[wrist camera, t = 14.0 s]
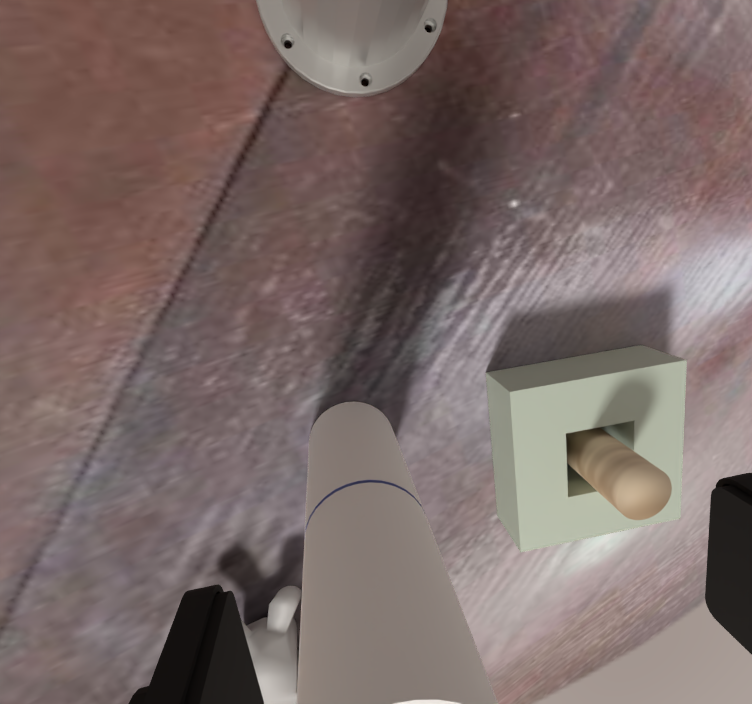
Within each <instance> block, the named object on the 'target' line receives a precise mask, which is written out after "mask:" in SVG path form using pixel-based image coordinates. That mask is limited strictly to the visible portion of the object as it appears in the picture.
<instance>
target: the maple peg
mask: <svg viewBox="0 0 752 704" xmlns="http://www.w3.org/2000/svg"><path fill="white" fill-rule="evenodd" d="M566 452H567V463H568V464H569V465H570V466H571V467H572V468H573V469H574V470H575V471H576V472H577V473H578V474H579V475H580V476H582V477H583V478H584V479H585V480H586V481H587V482H588V483H589V484H590V485H591V486H592V487H593V488H595V489H596V490H597V491H598V492H599V493H600V494H601V495H602V496H603V497H604V498H605V499H606V500H607V501H609V502H610V503H611V504H612V505H613V506H614V507H615V508H616V509H617V510H618V511H619V512H620V513H621V514H623V515H624V516H625V517H627V518H629V519H632V520H644V519H648V518H650V517H652V516H654V515H656V514H657V513H659V512H660V511H661V510H662V509H663V508H664V507H665V506H666V504H667V503H668V501H669V499H670V496H671V491H672V485H671V481H670V478H669V477H668V475H667V474H666V473H665V472H663V471H662V470H660V469H659V468H658V467H656V466H655V465H653V464H652V463H650V462H649V461H647V460H646V459H645V458H643V457H642V456H640V455H639V454H637V453H636V452H634V451H633V450H632V449H630V448H629V447H627V446H626V445H624V444H623V443H621V442H620V441H618V440H617V439H616V438H614V437H613V436H611V435H610V434H608V433H607V432H605V431H604V430H603V429H601V428H600V427H598V428H593V429H588V430H582V431H577V432H572V433H567V434H566Z"/></svg>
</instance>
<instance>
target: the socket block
mask: <svg viewBox="0 0 752 704" xmlns="http://www.w3.org/2000/svg"><path fill="white" fill-rule="evenodd" d="M686 363H687V360H685V359H682V358H679V357H676V356H673V355H670V354H667V353H664V352H661V351H658V350H655V349H652V348H649V347H646V346H643V345H638V346H632V347H627V348H621V349H615V350H610V351H604V352H598V353H593V354H587V355H581V356H576V357H570V358H564V359H559V360H553V361H547V362H542V363H536V364H530V365H525V366H519V367H514V368H508V369H502V370H497V371H491V372H486V382H487V395H488V407H489V419H490V431H491V443H492V456H493V468H494V480H495V492H496V504H497V516H498V518H499V519H500V521H501V522H502V524H503V525H504V527H505V529H506V530H507V532H508V533H509V535H510V536H511V538H512V540H513V541H514V543H515V544H516V546H517V547H518V549H519V550H520V552H525V551H530V550H534V549H539V548H544V547H548V546H553V545H558V544H563V543H567V542H572V541H577V540H582V539H586V538H591V537H596V536H600V535H605V534H610V533H615V532H619V531H624V530H629V529H634V528H638V527H643V526H648V525H652V524H657V523H662V522H667V521H671V520H676V519H680V514H681V489H682V464H683V439H684V414H685V388H686ZM598 427H600V428H601V429H603V430H604V431H605V432H607V433H608V434H610V435H611V436H613V437H614V438H616V439H617V440H618V441H620V442H621V443H623V444H624V445H626V446H627V447H629V448H630V449H632V450H633V451H634V452H636V453H637V454H639V455H640V456H642V457H643V458H645V459H646V460H647V461H649V462H650V463H652V464H653V465H655V466H656V467H658V468H659V469H660V470H662V471H663V472H665V473H666V474H667V475H668V477H669V478H670V481H671V485H672V491H671V496H670V499H669V501H668V503H667V504H666V506H665V507H664V508H663V509H662V510H661V511H660V512H659V513H657V514H656V515H654V516H652V517H650V518H648V519H644V520H632V519H629V518H627V517H625V516H624V515H623V514H621V513H620V512H619V511H618V510H617V509H616V508H615V507H614V506H613V505H612V504H611V503H610V502H609V501H607V500H606V499H605V498H604V497H603V496H602V495H601V494H600V493H599V492H598V491H597V490H596V489H595V488H593V487H592V486H591V485H590V484H589V483H588V482H587V481H586V480H585V479H584V478H583V477H582V476H580V475H579V474H578V473H577V472H576V471H575V470H574V469H573V468H572V467H571V466H570V465H569V464H568V463H567V452H566V434H567V433H572V432H577V431H582V430H588V429H593V428H598Z"/></svg>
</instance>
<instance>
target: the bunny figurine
mask: <svg viewBox="0 0 752 704" xmlns="http://www.w3.org/2000/svg"><path fill="white" fill-rule="evenodd" d="M300 599H301V590H300V589H299V588H298V587H297V586H286V587H283V588H282V589H280V590H279V591H278V593H277V594H276V596H275V597H274V599H273V600H272V601H271V603H270V604H269V610H268V617H267V618H262V619H260V620H257V621H255V622H253V623H251V624H249V625H247V626H246V625H245V624H244V622H243V621H242V620H241V622H242V626H243V629H244V633H245V636H246V640H247V643H248V647H249V650H250V654H251V658H252V661H253V665H254V668H255V672H256V675H257V679H258V683H259V686H260V690H261V693H262V697H263V701H264V704H297V685H298V664H299V650H298V649H297V625H296V621H295V619H294V617H293V616H294V614H295V611H296V609H297V606H298V604H299V601H300Z"/></svg>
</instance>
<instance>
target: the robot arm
mask: <svg viewBox="0 0 752 704" xmlns="http://www.w3.org/2000/svg"><path fill="white" fill-rule="evenodd" d="M256 2H257V6H258V10H259V14H260V16H261V19H262V22H263V25H264V28H265V30H266V33H267V35H268V37H269V38H270V40H271V42H272V44H273V46H274V47H275V49H276V51H277V52H278V53H279V55H280V56H281V57H282V58H283V60H284V61H285V62H286V63H287V65H288V66H289V67H290V68H291V69H292V70H294V71H295V72H296V73H297V74H298V75H299V76H300V77H301V78H303V79H304V80H306V81H307V82H309V83H311V84H312V85H314V86H316V87H317V88H319V89H322V90H324V91H327V92H330V93H333V94H335V95H341V96H348V97H365V96H373V95H376V94H380V93H383V92H386V91H389V90H390V89H392V88H394V87H396V86H398V85H400V84H402V83H403V82H404V81H405V80H406V79H408V78H409V77H410V76H411V75H412V74H414V73H415V72H416V71H417V69H418V68H419V67H420V66H421V65H422V63H423V62H424V61H425V60H426V58H427V57H428V55H429V53H430V52H431V50H432V48H433V47H434V45H435V43H436V41H437V39H438V36H439V34H440V32H441V29H442V26H443V22H444V18H445V14H446V10H447V3H448V0H256ZM426 27H428V28H429V29H430V31H431V33H428V32H427V31H426V30H425V28H426ZM286 43H290V44H291V45H292V47H291V48H290V49H286V48H285V47H284V45H285V44H286ZM363 80H366V81H367V82H368V86H366V87H364V86H363V85H362V84H361V82H362V81H363ZM705 600H706V604H707V607H708V609H709V611H710V613H711V614H712V615H713V617H714V618H715V619H716V620H717V621H718V622H719V623H720V624H721V625H722V626H723V627H724V628H725V629H726V630H727V631H728V632H729V633H730V634H731V635H732V636H733V637H734V638H735V639H736V640H737V641H738V642H739V643H740V644H741V645H742V646H744V647H745V649H747V650H748V651H749V652H750V653H751V654H752V473H746V474H741V475H736V476H732V477H727V478H723V479H720V480H719V481H718V482H717V484H716V488H715V489H714V490H713V491H712V494H711V505H710V523H709V540H708V558H707V575H706V592H705ZM129 704H264V701H263V697H262V693H261V690H260V686H259V683H258V679H257V675H256V672H255V668H254V665H253V661H252V658H251V654H250V650H249V647H248V643H247V640H246V636H245V633H244V629H243V626H242V622H241V618H240V615H239V611H238V608H237V604H236V601H235V597H234V594H233V592H232V591H227V592H223V589H222V587H221V586H220V585H213V586H209V587H204V588H199V589H194V590H190V591H187V592H186V593H185V594H184V596H183V597H182V600H181V603H180V605H179V608H178V611H177V613H176V616H175V619H174V621H173V624H172V627H171V629H170V632H169V634H168V637H167V640H166V642H165V645H164V648H163V650H162V653H161V656H160V658H159V661H158V664H157V666H156V669H155V672H154V674H153V677H152V680H151V682H150V685H149V686H147V687H143V688H140V689H138V690H137V691H136V693H135V694H134V695H133V696H132V698H131V700H130V702H129Z"/></svg>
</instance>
